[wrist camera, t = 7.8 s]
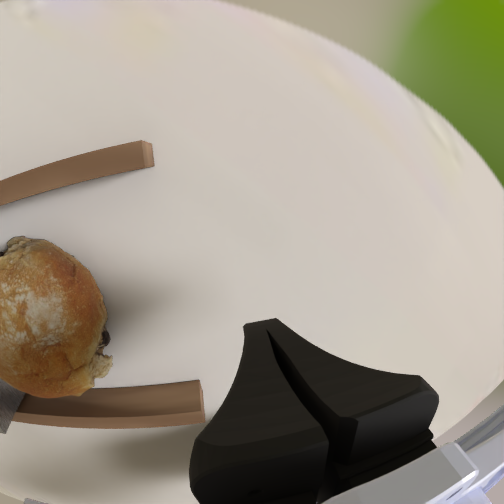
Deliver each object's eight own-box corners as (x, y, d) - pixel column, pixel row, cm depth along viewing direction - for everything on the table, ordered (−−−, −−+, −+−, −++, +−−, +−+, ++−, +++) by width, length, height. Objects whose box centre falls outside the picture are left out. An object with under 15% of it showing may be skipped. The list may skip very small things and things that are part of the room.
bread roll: (88, 215, 18) (7, 186, 10) (156, 355, 17) (91, 402, 9) (9, 283, 18) (-65, 282, 10) (62, 401, 17) (-5, 439, 9)
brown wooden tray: (202, 391, 19) (209, 458, 14) (2, 395, 17) (-22, 440, 11) (151, 143, 14) (125, 134, 8) (-69, 216, 11) (-119, 238, 6)
